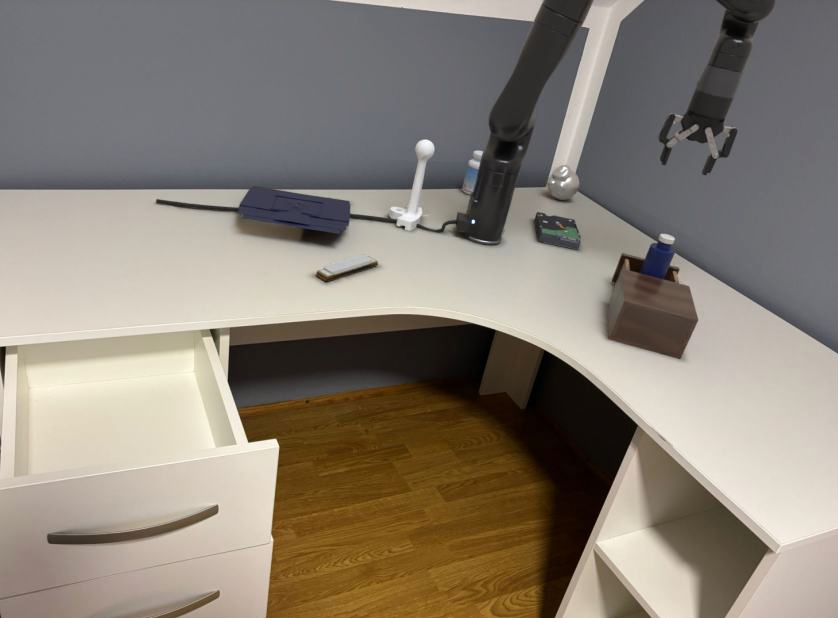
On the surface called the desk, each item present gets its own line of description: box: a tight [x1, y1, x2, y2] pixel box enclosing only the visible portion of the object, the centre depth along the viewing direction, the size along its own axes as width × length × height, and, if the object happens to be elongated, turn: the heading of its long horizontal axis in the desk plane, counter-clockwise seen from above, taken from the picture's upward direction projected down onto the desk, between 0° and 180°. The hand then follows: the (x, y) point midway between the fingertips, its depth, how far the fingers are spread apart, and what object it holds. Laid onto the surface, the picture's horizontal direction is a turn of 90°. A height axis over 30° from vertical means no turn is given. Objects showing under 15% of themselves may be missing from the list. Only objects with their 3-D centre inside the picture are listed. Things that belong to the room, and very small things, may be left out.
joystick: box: [388, 139, 436, 232], centre depth 164 cm, size 11×8×20 cm
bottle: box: [639, 233, 676, 279], centre depth 146 cm, size 5×5×14 cm
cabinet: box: [607, 269, 699, 360], centre depth 138 cm, size 16×14×9 cm
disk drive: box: [534, 211, 582, 250], centre depth 177 cm, size 10×3×15 cm
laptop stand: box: [236, 185, 351, 235], centre depth 159 cm, size 24×30×4 cm
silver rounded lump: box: [546, 164, 580, 201], centre depth 201 cm, size 9×10×10 cm
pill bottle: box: [461, 150, 484, 195], centre depth 193 cm, size 6×6×11 cm
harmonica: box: [316, 254, 379, 282], centre depth 140 cm, size 15×3×2 cm, turn 137°
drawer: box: [611, 252, 681, 287], centre depth 150 cm, size 18×12×7 cm
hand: (683, 169), depth 149 cm, fingers open, 8 cm apart
